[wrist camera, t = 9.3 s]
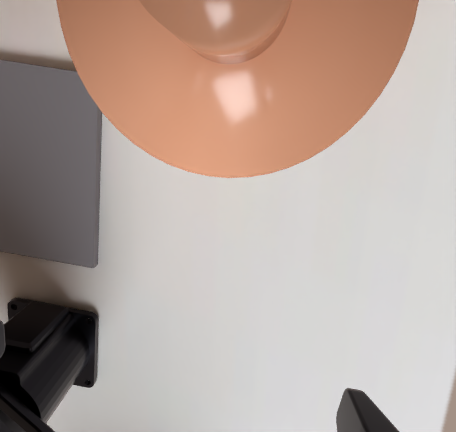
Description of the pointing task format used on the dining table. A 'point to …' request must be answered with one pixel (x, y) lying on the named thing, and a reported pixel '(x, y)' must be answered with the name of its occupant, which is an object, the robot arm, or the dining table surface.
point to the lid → (235, 74)
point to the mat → (49, 165)
